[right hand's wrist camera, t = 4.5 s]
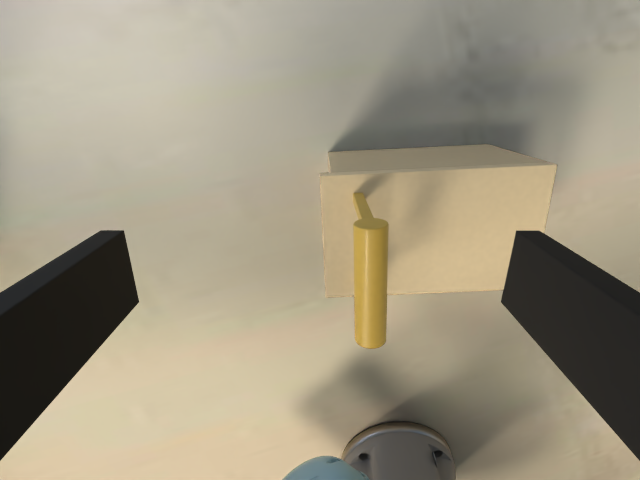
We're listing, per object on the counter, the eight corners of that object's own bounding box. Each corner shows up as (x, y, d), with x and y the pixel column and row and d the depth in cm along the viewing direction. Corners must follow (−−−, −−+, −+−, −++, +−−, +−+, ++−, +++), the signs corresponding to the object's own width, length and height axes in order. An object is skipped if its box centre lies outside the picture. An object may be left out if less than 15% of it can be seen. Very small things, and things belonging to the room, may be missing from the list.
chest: (331, 243, 39) (335, 290, 29) (327, 151, 35) (331, 172, 26) (476, 237, 38) (526, 282, 29) (487, 143, 35) (548, 161, 26)
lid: (325, 291, 29) (327, 367, 21) (319, 172, 26) (319, 209, 18) (526, 282, 29) (607, 355, 21) (548, 161, 26) (656, 193, 17)
